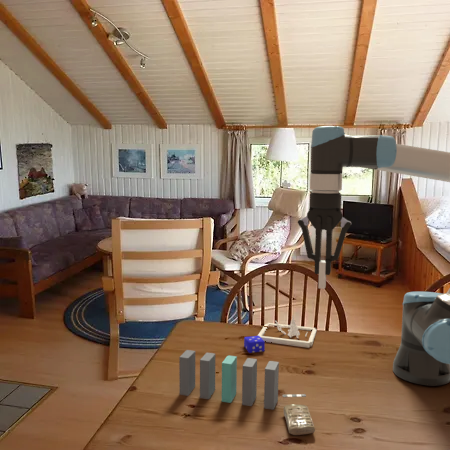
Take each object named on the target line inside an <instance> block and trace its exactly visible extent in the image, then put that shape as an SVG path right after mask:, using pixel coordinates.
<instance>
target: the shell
mask: <svg viewBox="0 0 450 450" xmlns="http://www.w3.org/2000/svg"><path fill="white" fill-rule="evenodd" d="M291 318H292V319H291V320H290V324H289V325H290V328H289V329H287V332H288V333H286V332H285V331H284V330H283V328H286V327H285V326H280V327H279V324H280V323H279V322H278V321H277V320H274V322H275V324H277V326H276V327H277V330H278V331H279V332H280V331H281V333H282V334H283V335H287V337H288V336H289V339H291V338H292V337H294V336H296V338H297V339H299V337H300V335H301V333H300V331H299V330H300V329H299V328H297V326H298V325H297V324H296V320H295V319H294V318H295V317H294V315H293V314H292V316H291ZM308 333H309V332H308V331H306V333H305V335H304V337H305V338H307V335H308Z"/></svg>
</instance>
